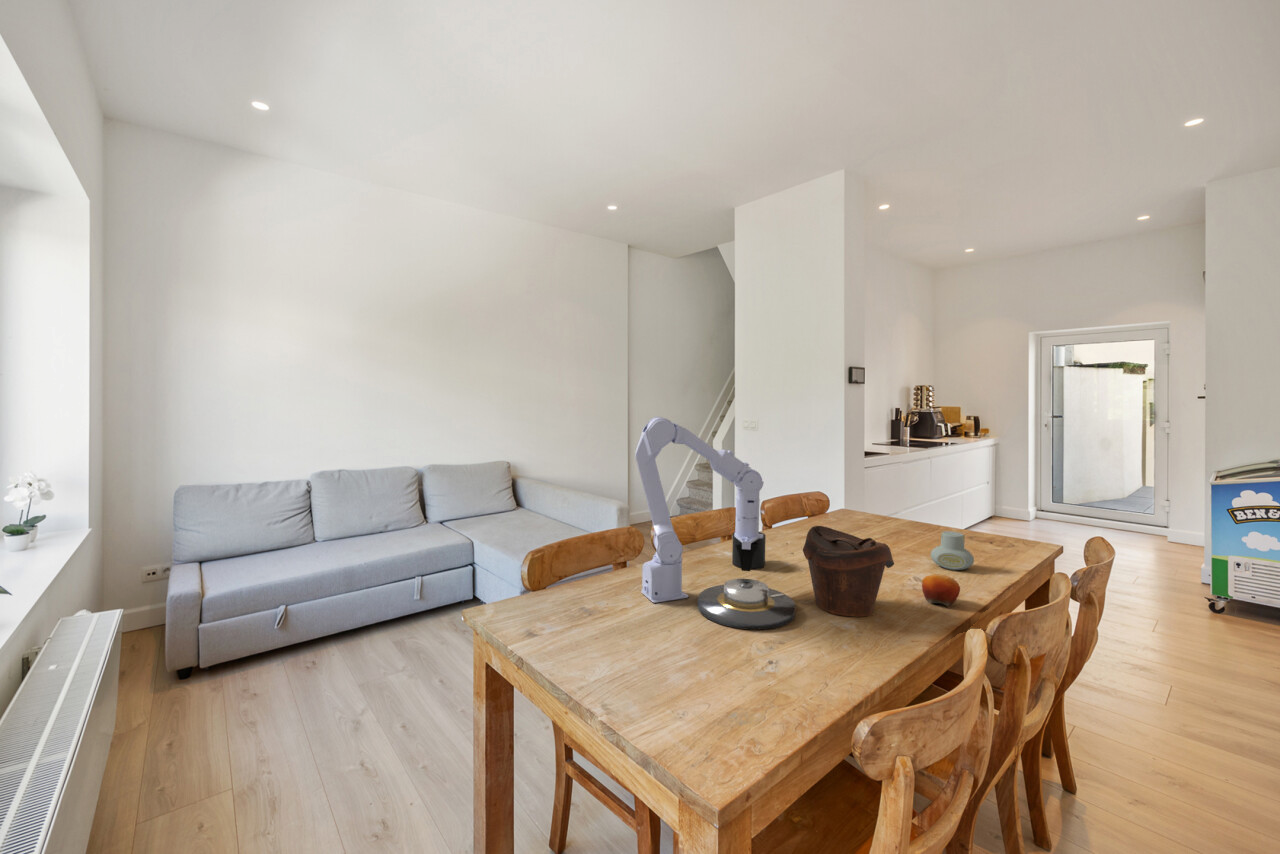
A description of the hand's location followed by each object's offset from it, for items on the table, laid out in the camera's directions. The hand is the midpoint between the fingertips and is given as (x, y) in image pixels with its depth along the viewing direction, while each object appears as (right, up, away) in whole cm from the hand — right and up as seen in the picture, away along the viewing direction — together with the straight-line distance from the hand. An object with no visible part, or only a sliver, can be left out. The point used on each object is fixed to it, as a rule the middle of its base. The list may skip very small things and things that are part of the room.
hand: (745, 570), depth 135 cm
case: (+22, -7, -8) cm, 24 cm away
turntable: (-2, -7, -10) cm, 12 cm away
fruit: (+46, -7, -4) cm, 47 cm away
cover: (-2, -4, -10) cm, 12 cm away
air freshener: (+65, -5, +23) cm, 69 cm away
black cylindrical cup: (+6, -5, +25) cm, 26 cm away
